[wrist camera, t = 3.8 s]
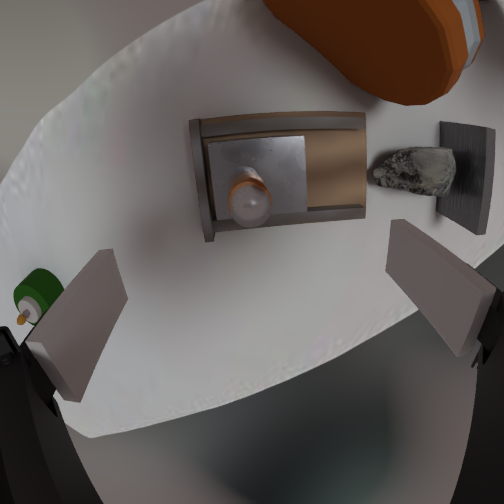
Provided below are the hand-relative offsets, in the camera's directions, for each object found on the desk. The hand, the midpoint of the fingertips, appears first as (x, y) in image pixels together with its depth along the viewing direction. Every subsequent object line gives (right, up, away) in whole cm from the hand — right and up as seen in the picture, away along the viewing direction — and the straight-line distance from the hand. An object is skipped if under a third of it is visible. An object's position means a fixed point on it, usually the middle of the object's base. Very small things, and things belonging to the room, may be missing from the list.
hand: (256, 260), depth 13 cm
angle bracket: (+30, +13, +22) cm, 40 cm away
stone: (+21, +13, +22) cm, 33 cm away
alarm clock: (+11, +29, +14) cm, 34 cm away
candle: (-35, -6, +27) cm, 45 cm away
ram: (0, +10, +20) cm, 22 cm away
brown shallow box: (+4, +11, +22) cm, 24 cm away
